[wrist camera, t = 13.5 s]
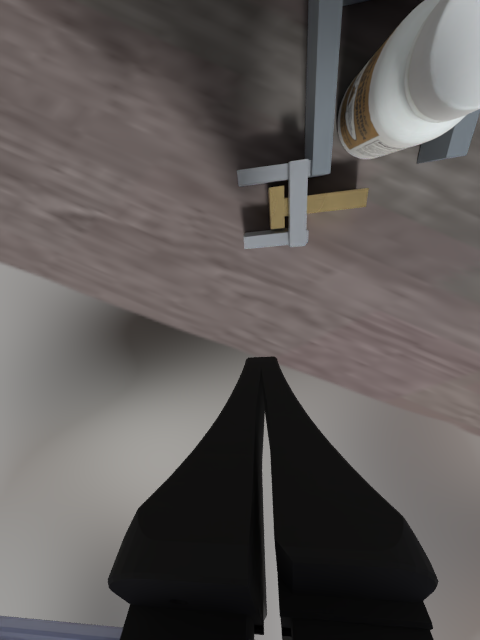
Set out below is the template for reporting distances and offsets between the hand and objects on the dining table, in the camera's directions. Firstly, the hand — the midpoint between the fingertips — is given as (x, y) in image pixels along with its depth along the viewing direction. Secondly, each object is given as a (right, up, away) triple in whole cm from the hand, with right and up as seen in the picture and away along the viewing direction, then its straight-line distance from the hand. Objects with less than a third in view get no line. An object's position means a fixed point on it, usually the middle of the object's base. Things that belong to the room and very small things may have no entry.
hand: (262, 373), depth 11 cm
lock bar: (+4, +11, +5) cm, 12 cm away
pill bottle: (+7, +15, +3) cm, 17 cm away
